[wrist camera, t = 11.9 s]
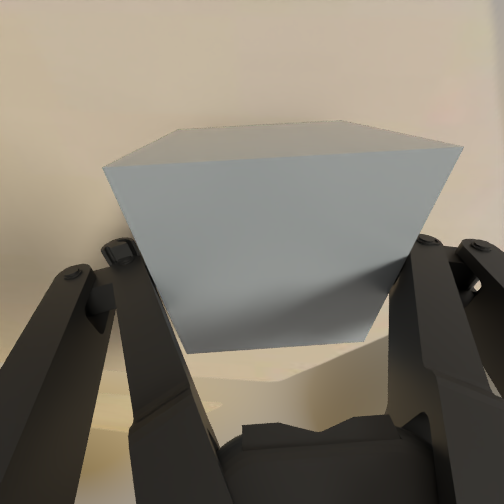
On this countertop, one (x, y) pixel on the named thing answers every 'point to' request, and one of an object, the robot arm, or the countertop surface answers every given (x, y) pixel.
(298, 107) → the countertop surface
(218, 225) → the gray tapered block
